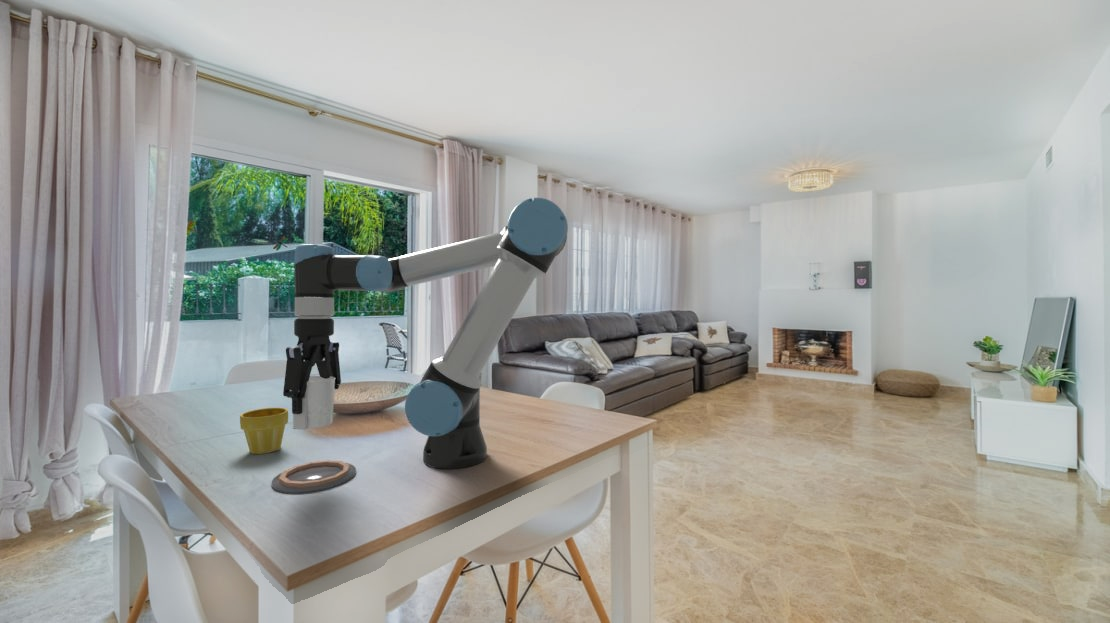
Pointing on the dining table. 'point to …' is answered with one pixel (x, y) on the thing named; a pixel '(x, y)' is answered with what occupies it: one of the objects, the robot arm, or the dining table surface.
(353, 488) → the dining table surface
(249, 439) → the plant pot
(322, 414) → the white cup
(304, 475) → the trivet
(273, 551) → the dining table surface
